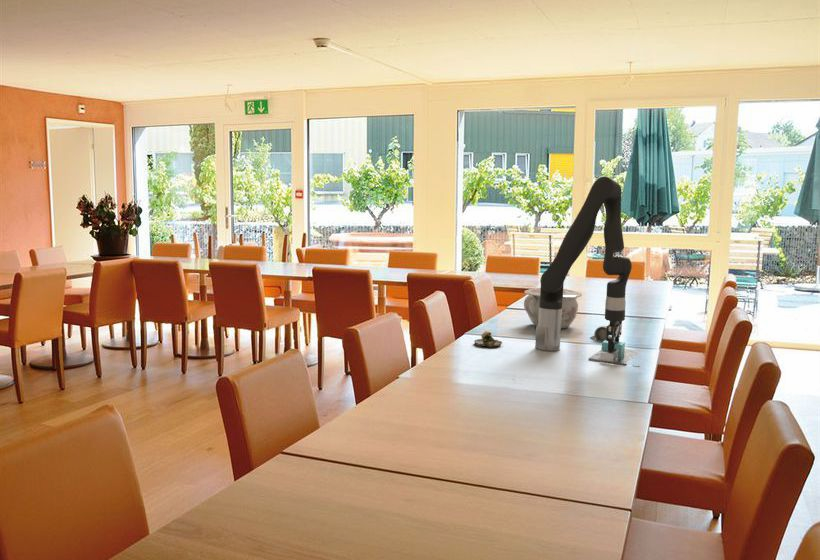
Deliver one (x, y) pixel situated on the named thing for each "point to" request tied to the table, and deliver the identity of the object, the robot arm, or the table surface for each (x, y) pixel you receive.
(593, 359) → the base
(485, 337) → the mottled brown knobbed disc
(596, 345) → the table surface
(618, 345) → the block
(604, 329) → the ceramic mug
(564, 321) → the chamber pot
